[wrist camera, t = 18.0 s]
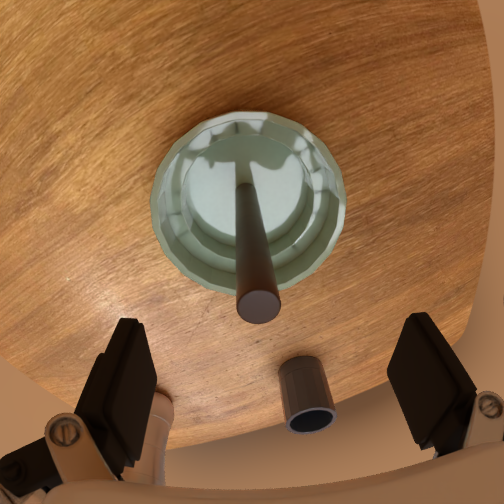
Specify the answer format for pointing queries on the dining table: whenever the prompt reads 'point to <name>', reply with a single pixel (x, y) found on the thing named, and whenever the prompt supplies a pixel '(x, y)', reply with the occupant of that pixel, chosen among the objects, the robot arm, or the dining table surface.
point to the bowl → (268, 191)
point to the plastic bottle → (153, 445)
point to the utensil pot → (305, 396)
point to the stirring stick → (253, 261)
